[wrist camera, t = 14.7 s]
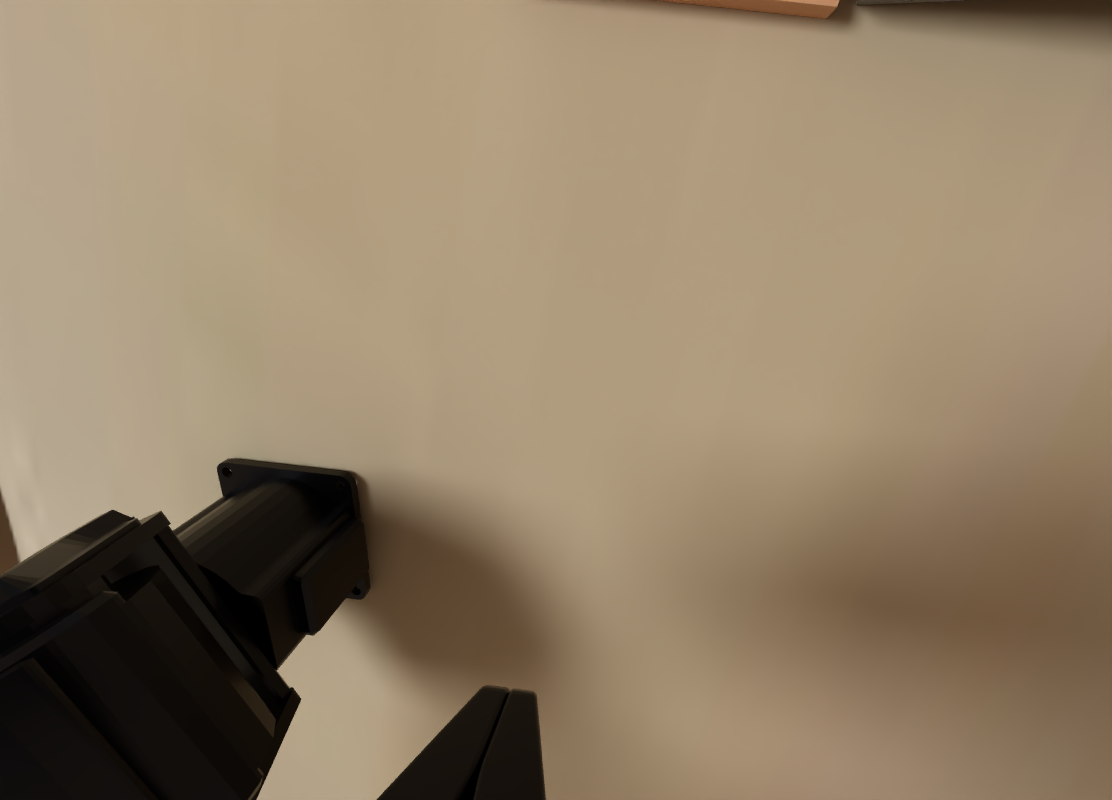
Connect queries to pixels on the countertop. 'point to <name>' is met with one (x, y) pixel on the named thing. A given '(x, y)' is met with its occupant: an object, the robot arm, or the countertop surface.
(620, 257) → the countertop surface
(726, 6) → the domino
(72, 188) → the countertop surface
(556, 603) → the countertop surface
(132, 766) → the robot arm
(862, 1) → the domino
